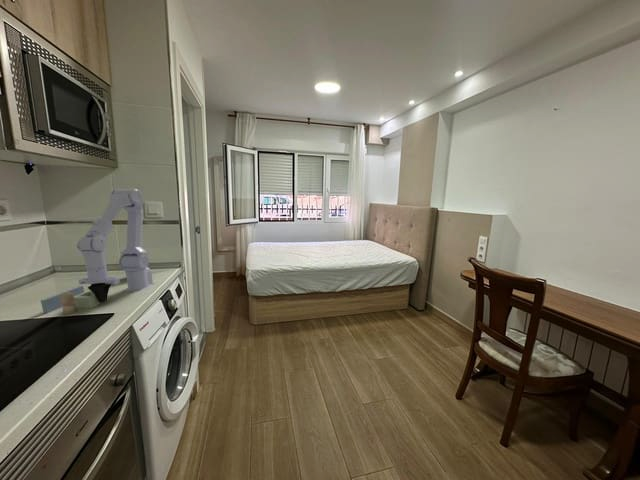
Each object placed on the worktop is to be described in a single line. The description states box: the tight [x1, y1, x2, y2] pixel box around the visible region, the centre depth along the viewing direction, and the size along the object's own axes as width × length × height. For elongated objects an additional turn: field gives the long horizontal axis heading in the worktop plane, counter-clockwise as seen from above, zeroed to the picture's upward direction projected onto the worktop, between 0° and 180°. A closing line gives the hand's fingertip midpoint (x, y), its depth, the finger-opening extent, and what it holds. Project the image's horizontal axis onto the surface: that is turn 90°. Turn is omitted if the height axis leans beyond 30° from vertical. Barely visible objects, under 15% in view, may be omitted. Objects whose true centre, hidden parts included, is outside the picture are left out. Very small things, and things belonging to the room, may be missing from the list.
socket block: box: [74, 289, 109, 309], centre depth 98 cm, size 7×7×4 cm
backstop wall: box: [40, 285, 85, 314], centre depth 98 cm, size 14×2×5 cm, turn 176°
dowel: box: [60, 293, 78, 316], centre depth 91 cm, size 3×3×7 cm
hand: (103, 301), depth 98 cm, fingers closed
